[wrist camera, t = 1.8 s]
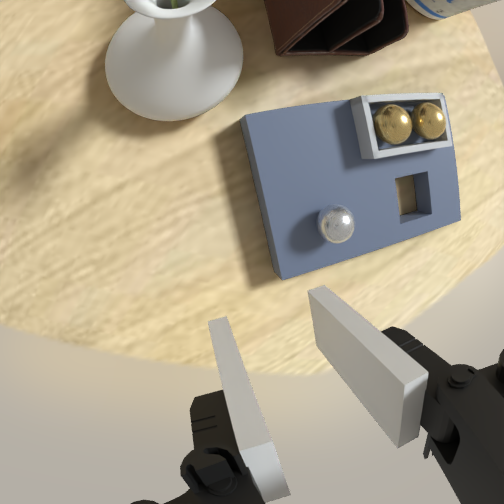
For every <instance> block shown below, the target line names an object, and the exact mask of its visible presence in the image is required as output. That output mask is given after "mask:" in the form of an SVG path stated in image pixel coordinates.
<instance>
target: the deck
mask: <svg viewBox="0 0 504 504" xmlns="http://www.w3.org/2000/svg"><path fill="white" fill-rule="evenodd" d="M424 102H428V103H432V104H435V105H436V106H438V107H439V108H440V109H441V110H442V111H443V113H444V115H445V118H446V128H445V130H444V132H443V134H442V135H441V136H439V137H438V138H436V139H425V138H422V137H420V136H419V135H418V134H416V132H415V131H414V130H413V128H412V131H411V134H410V136H409V137H408V139H407V140H406V141H404V142H402V143H400V144H395V145H394V144H388V143H385V142H383V141H382V140H380V139H379V138H378V137H377V135H376V134H375V130H374V125H373V121H372V120H373V116H374V114H375V112H376V111H377V110H378V109H379V108H380V107H382V106H384V105H387V104H394V105H398V106H400V107H402V108H403V109H404V110H406V112H407V113H408V114H409V116H411V112H412V110H413V109H414V107H415V106H417V105H418V104H420V103H424ZM239 120H240V124H241V128H242V132H243V136H244V141H245V145H246V149H247V153H248V158H249V162H250V166H251V171H252V175H253V179H254V184H255V188H256V192H257V197H258V201H259V206H260V210H261V214H262V219H263V223H264V228H265V232H266V237H267V241H268V246H269V250H270V255H271V259H272V264H273V268H274V272H275V273H276V274H277V275H278V276H279V277H280V278H281V279H282V280H285V279H288V278H291V277H295V276H298V275H301V274H304V273H307V272H310V271H314V270H317V269H320V268H323V267H326V266H329V265H332V264H335V263H338V262H341V261H344V260H348V259H351V258H354V257H357V256H360V255H363V254H366V253H369V252H372V251H375V250H378V249H380V248H383V247H386V246H389V245H392V244H395V243H398V242H401V241H404V240H407V239H410V238H412V237H415V236H418V235H421V234H424V233H427V232H429V231H432V230H435V229H438V228H441V227H443V226H446V225H449V224H452V223H454V222H457V221H460V220H461V215H460V199H459V186H458V176H457V167H456V159H455V151H454V145H453V138H452V132H451V126H450V121H449V115H448V110H447V105H446V101H445V96H444V95H443V93H404V94H382V95H366V96H359V97H356V98H353V99H350V100H342V101H332V102H324V103H316V104H308V105H301V106H294V107H287V108H281V109H275V110H269V111H263V112H258V113H253V114H247V115H244V116H243V117H242V118H241V119H239ZM412 174H413V177H414V185H415V193H416V202H417V211H414V212H411V213H407V214H404V215H401V216H399V207H398V199H397V191H396V184H395V178H398V177H403V176H408V175H412ZM332 204H339V205H343V206H345V207H346V208H348V209H349V210H350V211H351V212H352V214H353V216H354V219H355V230H354V232H353V234H352V236H351V237H350V238H349V239H348V240H346V241H345V242H342V243H338V244H335V243H330V242H327V241H326V240H324V239H323V238H322V237H321V236H320V234H319V233H318V230H317V225H316V222H317V217H318V215H319V213H320V212H321V210H322V209H324V208H325V207H327V206H329V205H332Z"/></svg>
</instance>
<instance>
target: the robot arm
mask: <svg viewBox="0 0 504 504" xmlns="http://www.w3.org/2000/svg"><path fill="white" fill-rule="evenodd" d="M308 297H309V302H310V308H311V314H312V320H313V326H314V333H315V339H316V345H317V347H318V348H319V350H320V351H321V352H322V353H323V355H324V356H325V357H326V358H327V360H328V361H329V362H330V364H331V365H332V366H333V367H334V369H335V370H336V371H337V372H338V374H339V375H340V376H341V378H342V379H343V380H344V381H345V383H346V384H347V385H348V386H349V388H350V389H351V390H352V391H353V393H354V394H355V395H356V396H357V398H358V399H359V400H360V402H361V403H362V404H363V405H364V407H365V408H366V409H367V410H368V412H369V413H370V414H371V416H372V417H373V418H374V419H375V421H376V422H377V423H378V424H379V426H380V427H381V428H382V429H383V431H384V432H385V433H386V434H387V436H388V437H389V438H390V439H391V441H392V442H393V443H394V444H395V446H396V447H397V448H399V447H401V446H403V445H404V444H406V443H408V442H410V441H412V440H414V439H415V438H417V437H418V436H419V430H420V426H422V427H423V428H424V429H425V430H426V431H427V432H428V435H427V439H426V444H425V448H424V453H423V455H424V458H425V459H426V458H428V455H429V452H430V450H431V451H432V455H434V456H435V458H436V460H437V462H438V463H439V465H440V467H441V469H442V470H443V472H444V474H445V476H446V477H447V479H448V481H449V483H450V485H451V486H452V488H453V490H454V492H455V493H456V496H457V497H458V499H459V501H460V503H461V504H504V349H503V351H502V352H501V354H500V357H499V361H498V363H497V364H494V365H491V366H488V367H485V368H483V369H479V370H476V369H475V368H474V367H472V366H468V365H465V364H456V365H452V366H451V365H450V364H448V363H447V362H446V361H445V360H443V359H442V358H441V357H439V356H438V355H437V354H436V353H434V352H433V351H432V350H430V349H429V348H428V347H426V346H425V345H424V346H423V343H421V342H420V341H419V340H417V339H415V337H413V336H412V335H411V334H409V333H408V332H407V331H405V330H402V329H399V328H396V327H393V326H392V327H390V328H388V329H386V330H383V331H379V330H378V329H377V328H376V327H375V326H373V325H372V324H371V323H370V322H369V321H367V320H366V319H365V318H364V317H363V316H361V315H360V314H359V313H358V312H357V311H355V310H354V309H353V308H352V307H351V306H349V305H348V304H347V303H346V302H345V301H343V300H342V299H341V298H340V297H338V296H337V295H336V294H335V293H334V292H332V291H331V290H330V289H329V288H328V287H326V286H325V285H323V286H320V287H317V288H314V289H311V290H308ZM208 325H209V330H210V335H211V339H212V344H213V348H214V352H215V357H216V361H217V366H218V370H219V374H220V378H221V382H222V386H223V390H220V391H217V392H213V393H209V394H205V395H201V396H198V397H195V398H194V400H193V403H192V405H191V408H190V417H191V423H192V424H191V426H192V432H193V434H192V435H193V442H194V450H192V451H191V452H190V453H189V454H188V455H187V456H186V457H185V458H184V460H183V462H182V464H181V466H180V470H181V476H182V477H183V479H184V481H185V482H186V483H187V484H188V486H189V487H190V489H189V490H188V491H187V492H186V493H184V494H183V495H181V496H179V497H177V498H175V499H173V500H171V501H169V502H166V503H164V504H265V503H266V502H269V501H273V500H276V499H279V498H282V497H286V496H289V495H290V491H289V489H288V486H287V483H286V480H285V477H284V474H283V471H282V468H281V465H280V462H279V459H278V456H277V453H276V450H275V447H274V443H273V441H272V438H271V435H270V433H269V430H268V428H267V425H266V423H265V420H264V417H263V415H262V412H261V410H260V407H259V404H258V402H257V399H256V397H255V394H254V391H253V388H252V386H251V383H250V380H249V377H248V375H247V372H246V369H245V367H244V364H243V361H242V358H241V355H240V353H239V350H238V347H237V344H236V341H235V339H234V336H233V333H232V330H231V327H230V324H229V321H228V319H227V316H225V317H222V318H218V319H215V320H212V321H208ZM131 504H158V503H156V502H154V501H150V500H141V501H136V502H133V503H131Z"/></svg>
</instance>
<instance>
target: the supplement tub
mask: <svg viewBox="0 0 504 504" xmlns="http://www.w3.org/2000/svg"><path fill="white" fill-rule="evenodd" d="M406 1H407V2H408V3H409V4H410V5H411V6H412V7H413V8H414V9H416V10H417V11H418V12H420V13H421V14H423V15H424V16H426V17H429V18H431V19H436V20H441V19H445V18H447V17H450V16H453V15H456V14H459V13H462V12H465V11H468V10H471V9H474V8H477V7H480V6H483V5H487V4H490V3H493V2H497V1H500V0H406Z"/></svg>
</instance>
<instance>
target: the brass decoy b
mask: <svg viewBox="0 0 504 504" xmlns="http://www.w3.org/2000/svg"><path fill="white" fill-rule="evenodd" d="M410 118H411V121H412V128H413V130H414V131H415V132H416V134H418V135H419V136H420V137H422V138H425V139H436V138H438V137H439V136H441V135H442V134H443V132H444V130H445V128H446V118H445V115H444V113H443V111H442V110H441V109H440V108H439V107H438V106H436V105H435V104H432V103H428V102H424V103H420V104H418V105H417V106H415V107H414V109H413V110H412V112H411V116H410Z"/></svg>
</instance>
